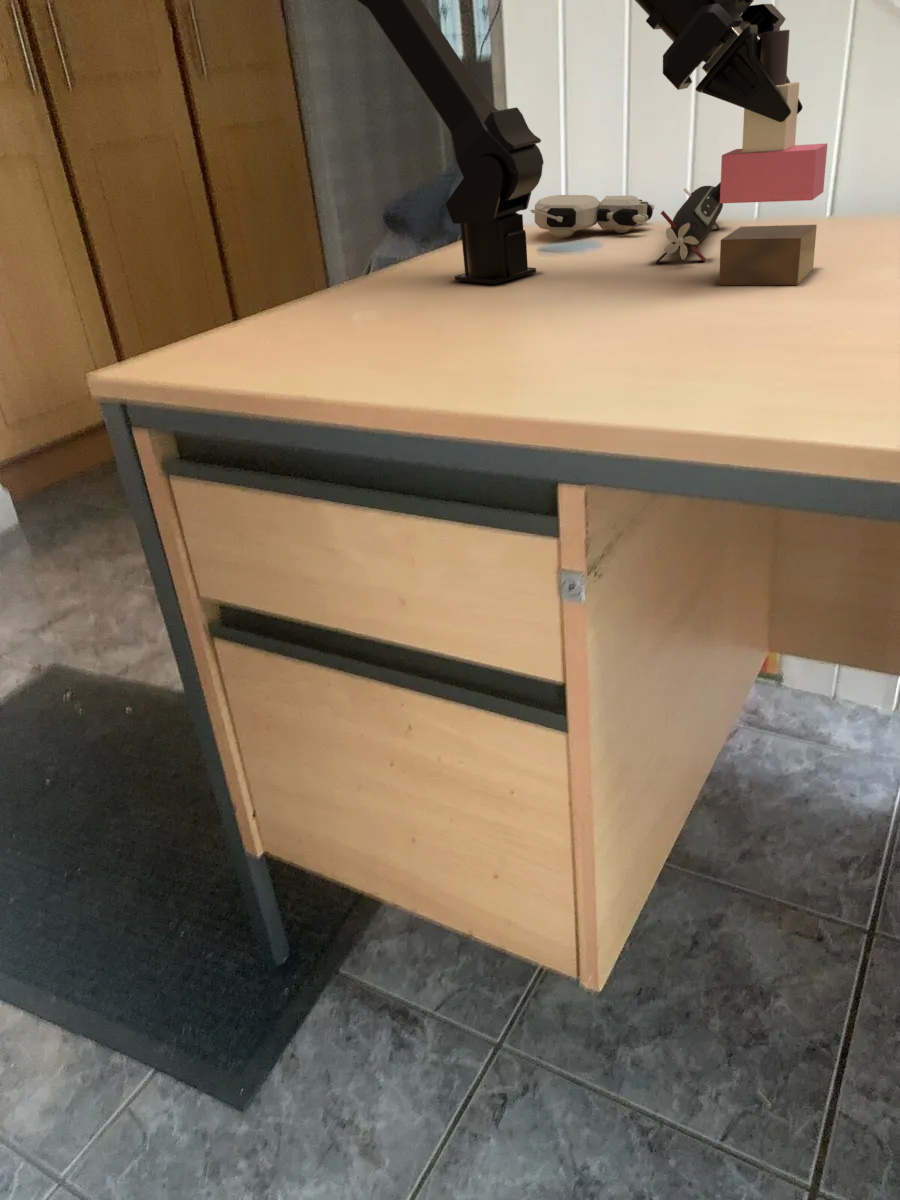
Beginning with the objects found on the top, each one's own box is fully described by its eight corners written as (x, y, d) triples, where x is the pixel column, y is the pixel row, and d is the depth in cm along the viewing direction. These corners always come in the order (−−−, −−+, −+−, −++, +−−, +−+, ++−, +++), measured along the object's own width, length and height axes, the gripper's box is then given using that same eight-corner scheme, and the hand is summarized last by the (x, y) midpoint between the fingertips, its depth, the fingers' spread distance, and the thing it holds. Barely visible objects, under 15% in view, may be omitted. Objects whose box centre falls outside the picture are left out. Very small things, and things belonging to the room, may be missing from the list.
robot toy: (654, 228, 125) (543, 226, 128) (657, 191, 122) (543, 191, 126) (646, 244, 115) (525, 242, 118) (649, 204, 112) (526, 203, 116)
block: (718, 285, 87) (720, 239, 85) (738, 269, 92) (740, 226, 90) (797, 285, 84) (801, 238, 82) (813, 269, 89) (816, 224, 87)
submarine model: (673, 292, 97) (753, 219, 91) (629, 243, 96) (707, 167, 90) (703, 240, 122) (766, 181, 117) (668, 201, 121) (731, 139, 116)
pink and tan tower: (719, 203, 85) (725, 36, 79) (733, 195, 88) (740, 35, 82) (812, 200, 81) (826, 24, 75) (823, 192, 85) (837, 24, 78)
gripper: (706, -126, 68) (852, 32, 69) (767, -103, 82) (888, 28, 82) (606, 15, 76) (737, 157, 76) (677, 14, 90) (788, 134, 90)
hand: (792, 115), depth 81 cm, fingers closed on pink and tan tower, 4 cm apart
